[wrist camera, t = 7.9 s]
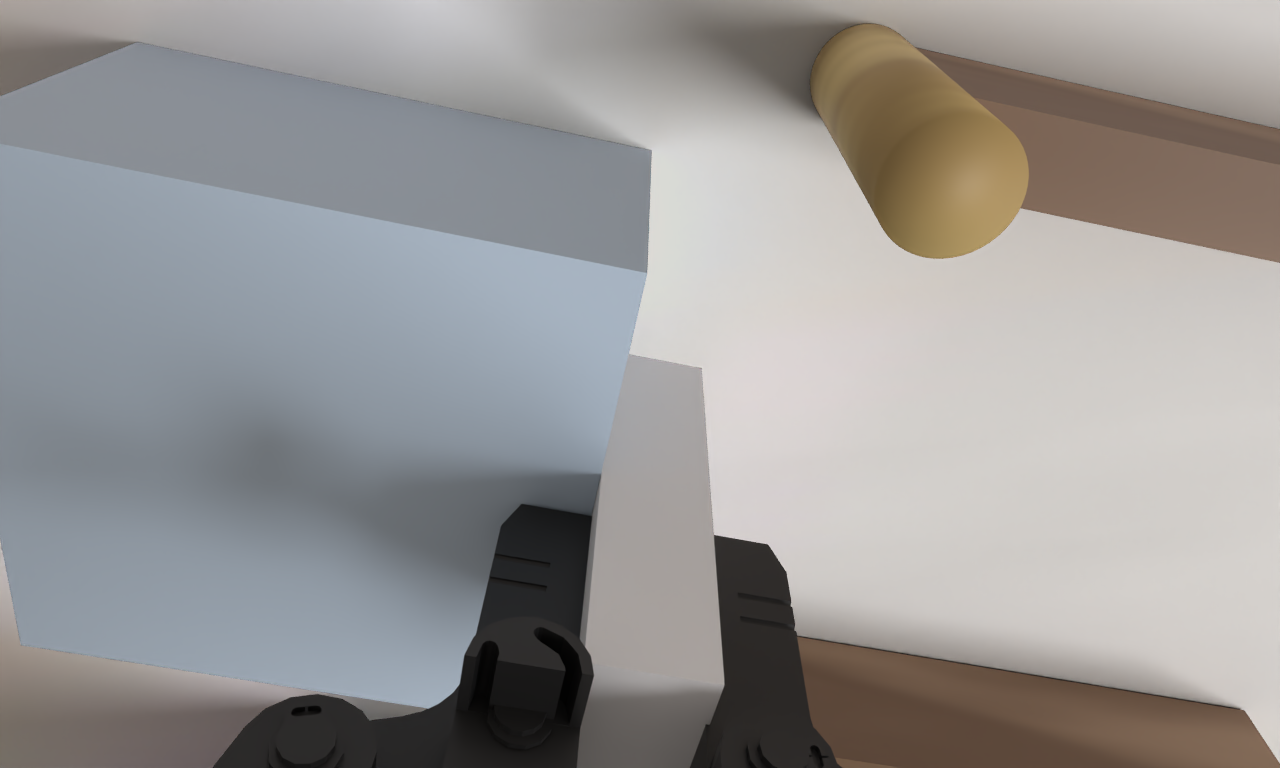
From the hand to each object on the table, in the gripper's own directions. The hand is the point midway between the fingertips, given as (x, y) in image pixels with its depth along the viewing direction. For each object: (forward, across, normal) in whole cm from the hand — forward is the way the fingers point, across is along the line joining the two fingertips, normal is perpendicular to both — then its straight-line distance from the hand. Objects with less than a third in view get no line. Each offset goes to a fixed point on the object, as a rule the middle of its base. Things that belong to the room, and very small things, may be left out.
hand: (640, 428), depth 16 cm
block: (+2, +5, 0) cm, 5 cm away
